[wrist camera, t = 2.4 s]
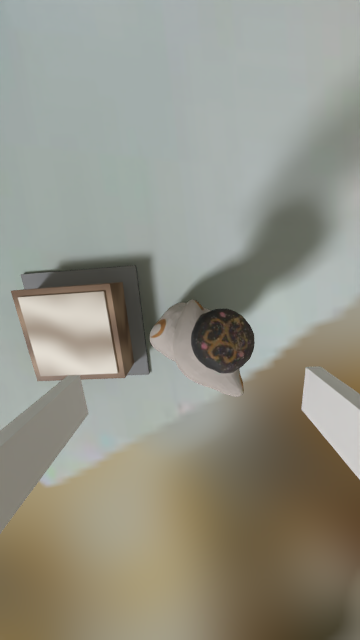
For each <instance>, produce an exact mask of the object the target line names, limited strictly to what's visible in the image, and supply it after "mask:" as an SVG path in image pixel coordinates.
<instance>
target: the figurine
mask: <svg viewBox="0 0 360 640" xmlns="http://www.w3.org/2000/svg"><path fill="white" fill-rule="evenodd" d="M150 342H151V344H152V346H153V347H154V348H155V349H156V350H158V351H159V352H161V353H162V354H163V355H165V356H166V357H168V358H169V359H171V360H173V361H175V362H176V363H177V366H178V367H179V369H180V370H181V371H182V373H183V374H184V375H185V376H186V377H188V378H189V379H191V380H192V381H194V382H196V383H198V384H201V385H203V386H207V387H210V388H212V389H215V390H217V391H220V392H222V393H224V394H227V395H231V396H240V395H243V393H244V389H243V381H242V378H241V376H240V371H239V368H240V367H242V366H243V365H244V364H245V363H246V362H247V361H248V360H249V359H250V357H251V355H252V352H253V349H254V333H253V331H252V329H251V327H250V325H249V324H248V322H247V321H246V320H245V319H244V318H243V317H242V316H241V315H240V314H238V313H236V312H234V311H232V310H229V309H215V310H212V311H211V310H208V309H205V308H203V307H202V306H201V305H200V304H199V303H198V302H197V301H196V300H189V301H188V302H187V303H178V304H175V305H173V306H172V307H170V308H169V309H168V310H167V311H166V312H165V313H164V314H163V316H162V317H161V318H160V319H159V320H158V322H157V323H156V324H155V325H154V327H153V328H152V330H151V333H150Z"/></svg>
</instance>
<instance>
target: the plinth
mask: <svg viewBox="0 0 360 640" xmlns="http://www.w3.org/2000/svg"><path fill="white" fill-rule="evenodd" d="M11 293H12V296H13V300H14V303H15V307H16V310H17V313H18V317H19V320H20V323H21V327H22V330H23V334H24V337H25V340H26V344H27V347H28V350H29V354H30V357H31V360H32V364H33V367H34V371H35V374H36V377H37V381H54V380H63V379H64V378H65V377H67V376H71V375H80V378H81V379H107V378H125V377H126V376H127V374H128V372H129V371H130V369H131V368H132V366H133V364H134V358H133V351H132V344H131V337H130V331H129V324H128V317H127V310H126V303H125V296H124V289H123V283H122V282H117V283H103V284H89V285H75V286H61V287H48V288H35V289H25V290H14V291H11Z"/></svg>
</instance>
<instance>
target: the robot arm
mask: <svg viewBox="0 0 360 640" xmlns="http://www.w3.org/2000/svg"><path fill="white" fill-rule="evenodd" d="M302 410H303V412H304V413H305V414H306V415H307V416H308V418H309V419H310V420H311V421H312V423H313V424H314V425H315V426H316V427H317V429H318V430H319V431H320V432H321V433H322V435H323V436H324V437H325V438H326V439H327V441H328V442H329V443H330V444H331V445H332V447H333V448H334V449H335V450H336V451H337V453H338V454H339V455H340V456H341V457H342V458H343V460H344V461H345V462H346V464H348V466H349V467H350V468H351V470H352V471H353V472H354V473H355V474H356V476H357V477H358V478H359V479H360V394H359V393H357V392H356V391H354V390H353V389H352V388H350V387H349V386H347V385H346V384H344V383H343V382H342V381H340V380H338V379H337V378H336V377H335V376H333V375H332V374H330V373H329V372H327V371H326V370H325V369H323V368H322V367H306V371H305V381H304V392H303V400H302ZM87 415H88V410H87V405H86V401H85V396H84V392H83V387H82V383H81V378H80V375H71V376H67V377H65V378H64V379H63V380H62V381H61V382H59V383H58V384H57V385H56V386H54V387H53V388H52V389H51V390H50V391H48V392H47V393H46V394H45V395H43V396H42V397H41V398H40V399H39V400H37V401H36V402H35V403H34V404H32V405H31V406H30V407H29V408H28V409H26V410H25V411H24V412H23V413H21V414H20V415H19V416H18V417H17V418H15V419H14V420H13V421H12V422H10V423H9V424H8V425H7V426H6V427H4V428H3V429H2V430H1V431H0V533H1V532H2V530H3V529H4V528H5V526H6V525H7V524H8V522H9V521H10V519H11V518H12V517H13V515H14V514H15V513H16V511H17V510H18V509H19V507H20V506H21V505H22V503H23V502H24V500H25V499H26V498H27V496H28V495H29V494H30V492H31V491H32V490H33V488H34V487H35V486H36V484H37V483H38V481H39V480H40V479H41V477H42V476H43V475H44V473H45V472H46V471H47V469H48V468H49V467H50V465H51V464H52V462H53V461H54V460H55V458H56V457H57V456H58V454H59V453H60V452H61V450H62V449H63V448H64V446H65V445H66V443H67V442H68V441H69V439H70V438H71V437H72V435H73V434H74V433H75V431H76V430H77V429H78V427H79V426H80V424H81V423H82V422H83V420H84V419H85V418H86V416H87Z"/></svg>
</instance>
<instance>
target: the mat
mask: <svg viewBox="0 0 360 640" xmlns="http://www.w3.org/2000/svg"><path fill="white" fill-rule="evenodd" d="M21 278H22V281H23V285H24V289H35V288H48V287H61V286H75V285H89V284H103V283H117V282H122V283H123V289H124V296H125V303H126V310H127V317H128V324H129V331H130V337H131V344H132V351H133V358H134V364H133V366H132V368H131V369H130V371H129V372H128V374H127V375H147V374H149V366H148V358H147V350H146V342H145V334H144V326H143V318H142V310H141V302H140V294H139V286H138V278H137V270H136V266H122V267H109V268H97V269H84V270H71V271H58V272H45V273H33V274H21Z"/></svg>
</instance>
